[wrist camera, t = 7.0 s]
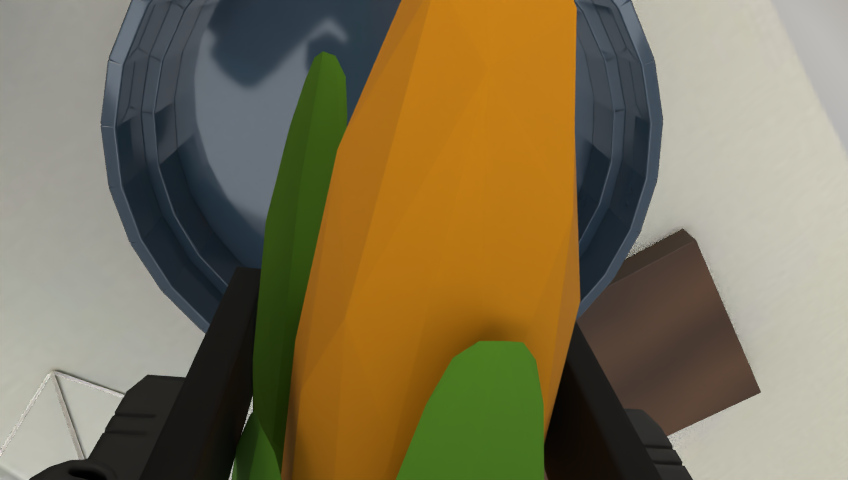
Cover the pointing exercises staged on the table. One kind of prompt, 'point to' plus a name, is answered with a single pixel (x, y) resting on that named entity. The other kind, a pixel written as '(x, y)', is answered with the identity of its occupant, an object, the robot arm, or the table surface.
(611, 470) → the robot arm
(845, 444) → the table surface
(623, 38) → the bowl
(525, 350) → the corn
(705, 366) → the walnut board
